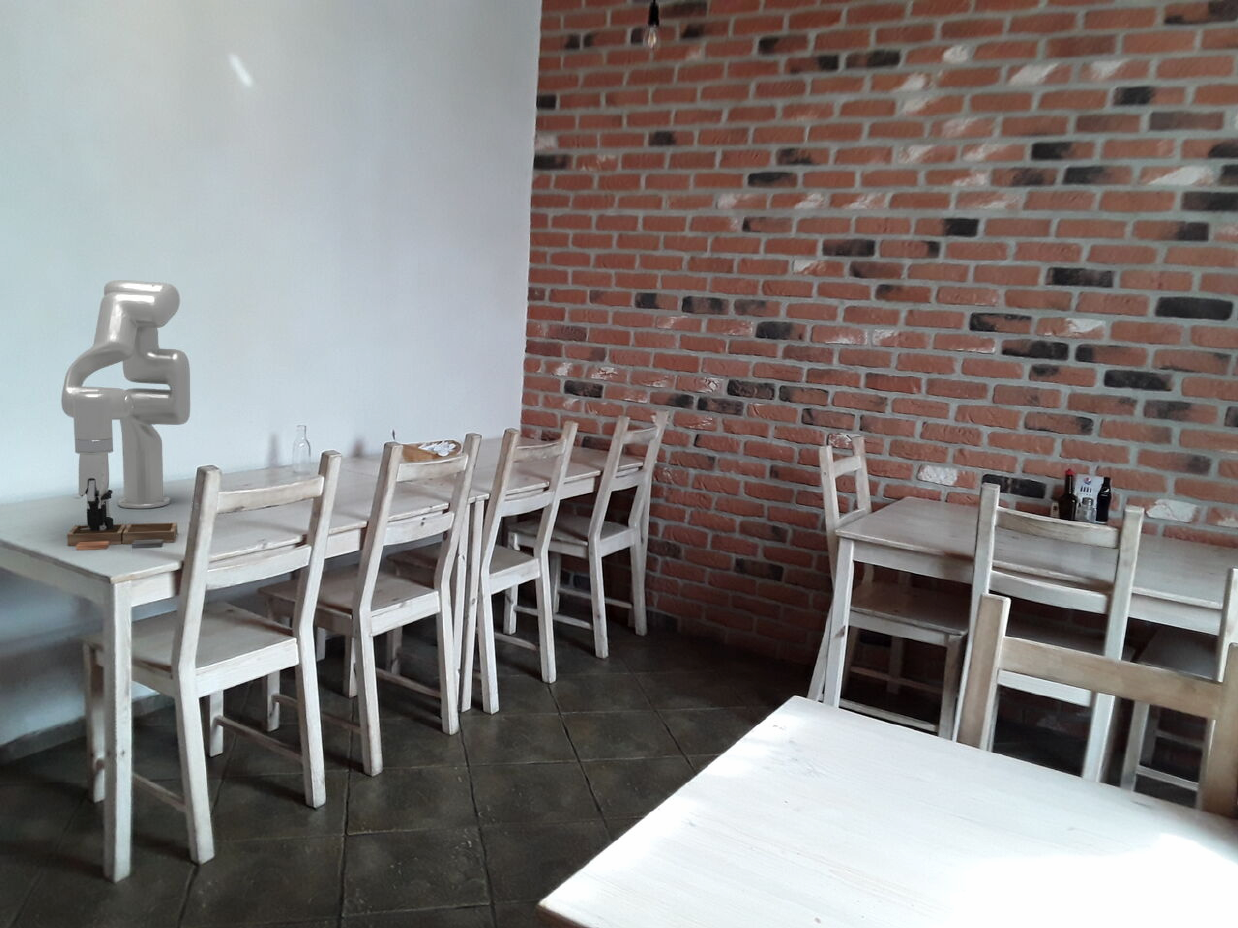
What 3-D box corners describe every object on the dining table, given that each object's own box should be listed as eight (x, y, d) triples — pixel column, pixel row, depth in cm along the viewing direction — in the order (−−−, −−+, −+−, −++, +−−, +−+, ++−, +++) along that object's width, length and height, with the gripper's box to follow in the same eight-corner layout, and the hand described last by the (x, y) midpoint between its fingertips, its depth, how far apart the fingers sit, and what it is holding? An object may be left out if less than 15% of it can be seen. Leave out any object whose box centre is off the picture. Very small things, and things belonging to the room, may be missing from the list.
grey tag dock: (128, 534, 210) (127, 523, 210) (177, 532, 214) (177, 522, 213) (120, 548, 199) (120, 537, 198) (172, 546, 203) (172, 535, 202)
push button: (84, 534, 199) (82, 491, 198) (78, 528, 203) (76, 487, 201) (117, 530, 204) (115, 488, 202) (110, 525, 208) (108, 484, 206)
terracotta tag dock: (75, 535, 206) (74, 525, 205) (126, 534, 210) (126, 523, 209) (64, 550, 195) (63, 539, 194) (118, 548, 199) (118, 537, 198)
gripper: (82, 439, 206) (85, 514, 210) (67, 452, 191) (71, 533, 194) (118, 439, 209) (121, 513, 212) (106, 452, 194) (110, 531, 197)
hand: (97, 522), depth 203 cm, fingers closed on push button, 3 cm apart
